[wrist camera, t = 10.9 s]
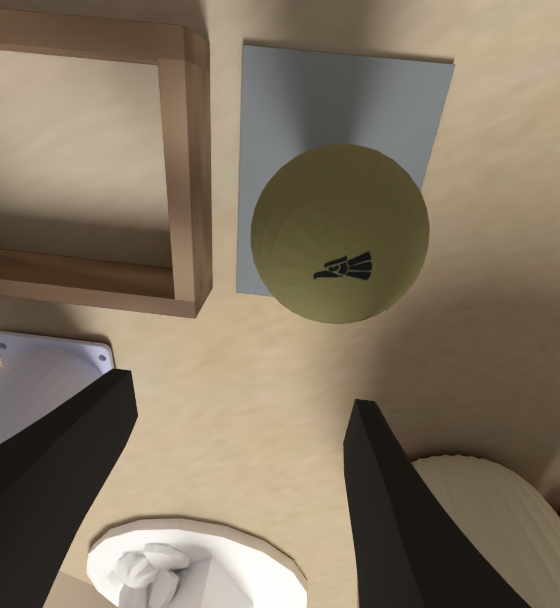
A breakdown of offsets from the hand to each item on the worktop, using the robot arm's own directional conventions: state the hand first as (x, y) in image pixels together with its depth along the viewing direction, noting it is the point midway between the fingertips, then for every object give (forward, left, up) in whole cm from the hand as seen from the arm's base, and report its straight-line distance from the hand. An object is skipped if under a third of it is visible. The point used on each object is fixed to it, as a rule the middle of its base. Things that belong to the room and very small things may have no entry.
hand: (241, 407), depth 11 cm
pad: (+5, -2, -10) cm, 12 cm away
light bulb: (+5, -2, -10) cm, 12 cm away
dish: (-39, +6, -11) cm, 41 cm away
